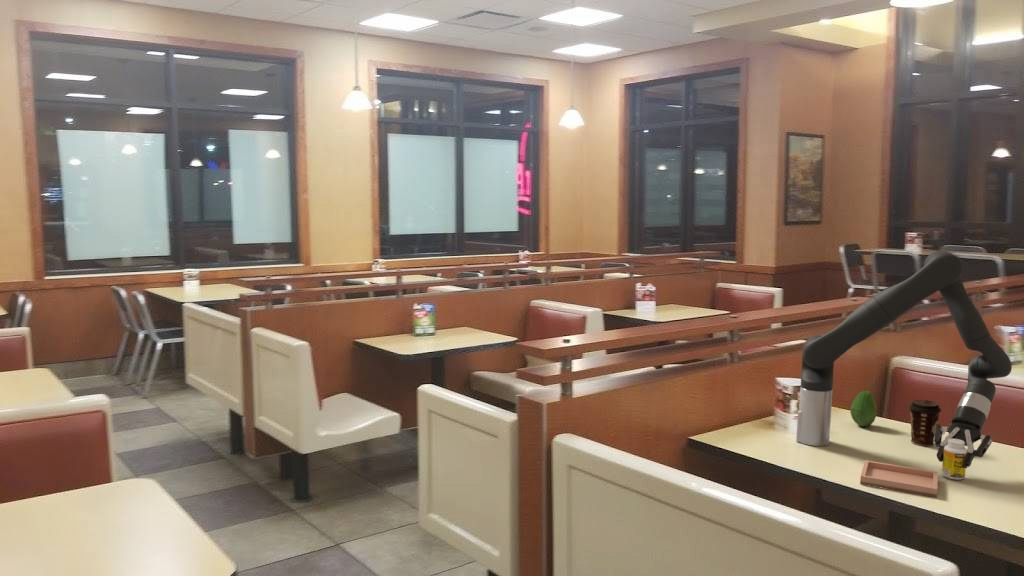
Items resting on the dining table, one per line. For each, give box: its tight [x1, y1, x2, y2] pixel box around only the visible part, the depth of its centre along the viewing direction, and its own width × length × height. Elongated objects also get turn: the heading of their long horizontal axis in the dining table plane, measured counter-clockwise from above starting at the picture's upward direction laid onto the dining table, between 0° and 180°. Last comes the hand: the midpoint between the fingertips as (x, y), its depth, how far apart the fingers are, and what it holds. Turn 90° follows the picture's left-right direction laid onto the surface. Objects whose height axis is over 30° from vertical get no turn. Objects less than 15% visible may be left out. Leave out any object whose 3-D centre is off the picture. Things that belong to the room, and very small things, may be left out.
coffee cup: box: [908, 399, 942, 447], centre depth 238 cm, size 9×8×13 cm
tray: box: [859, 459, 939, 498], centre depth 207 cm, size 18×14×2 cm
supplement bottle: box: [941, 439, 968, 481], centre depth 210 cm, size 6×6×10 cm
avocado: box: [850, 390, 878, 427], centre depth 256 cm, size 8×8×12 cm
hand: (952, 463), depth 209 cm, fingers closed on supplement bottle, 5 cm apart
